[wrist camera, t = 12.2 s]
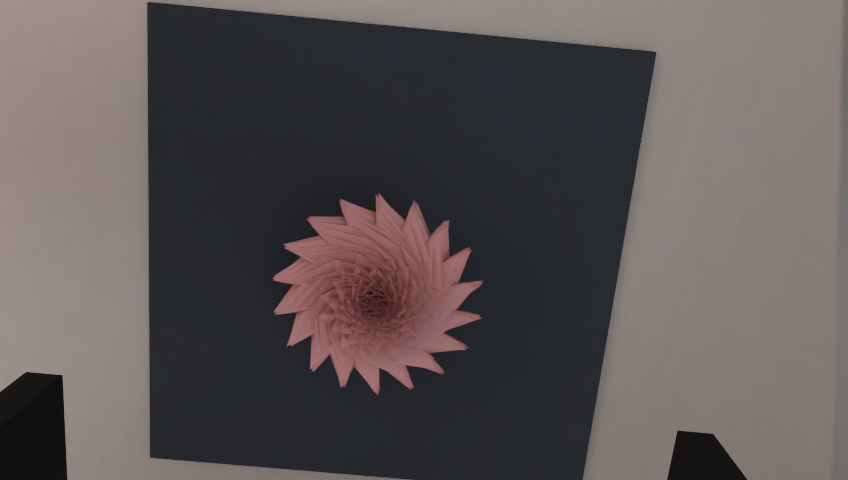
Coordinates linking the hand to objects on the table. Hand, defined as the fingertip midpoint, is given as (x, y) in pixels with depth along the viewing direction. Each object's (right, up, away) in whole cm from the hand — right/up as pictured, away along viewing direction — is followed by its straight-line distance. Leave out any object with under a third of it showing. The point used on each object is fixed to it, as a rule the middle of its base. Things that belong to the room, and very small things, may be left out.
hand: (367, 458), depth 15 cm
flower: (-1, +3, +15) cm, 15 cm away
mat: (-1, +3, +15) cm, 15 cm away
